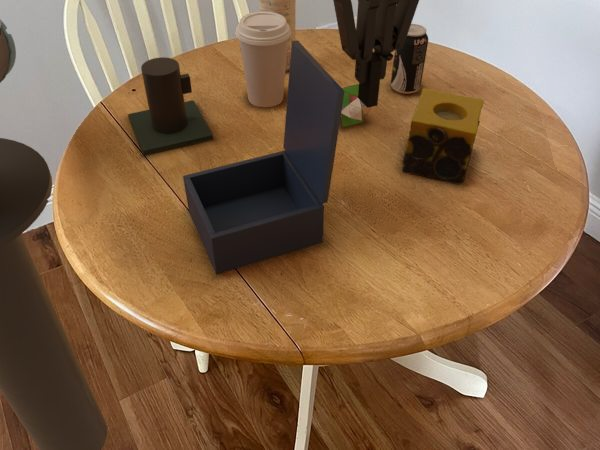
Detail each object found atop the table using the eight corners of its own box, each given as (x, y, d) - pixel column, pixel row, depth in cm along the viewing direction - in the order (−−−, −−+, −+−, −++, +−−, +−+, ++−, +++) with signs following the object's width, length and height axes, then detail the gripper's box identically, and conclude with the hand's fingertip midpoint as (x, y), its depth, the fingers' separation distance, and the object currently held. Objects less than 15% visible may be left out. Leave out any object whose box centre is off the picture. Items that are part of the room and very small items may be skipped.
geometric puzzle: (319, 100, 105) (333, 81, 98) (352, 92, 107) (368, 72, 100) (333, 137, 104) (348, 120, 97) (366, 128, 107) (384, 111, 99)
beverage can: (392, 79, 115) (400, 20, 107) (421, 83, 114) (431, 24, 106) (387, 93, 111) (395, 33, 103) (418, 98, 110) (428, 38, 102)
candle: (413, 138, 101) (421, 86, 94) (472, 150, 98) (485, 98, 91) (399, 172, 94) (408, 119, 87) (463, 186, 91) (477, 133, 84)
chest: (216, 274, 78) (211, 238, 73) (188, 211, 87) (182, 175, 82) (322, 242, 82) (324, 206, 77) (286, 185, 91) (285, 150, 86)
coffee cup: (232, 106, 107) (225, 28, 97) (251, 81, 114) (247, 6, 104) (281, 116, 105) (279, 37, 95) (298, 90, 112) (298, 13, 102)
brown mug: (157, 137, 99) (145, 78, 91) (149, 118, 103) (137, 61, 95) (199, 127, 101) (192, 69, 93) (190, 109, 105) (182, 53, 97)
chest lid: (338, 91, 66) (344, 90, 66) (291, 40, 75) (297, 40, 75) (321, 204, 77) (327, 202, 77) (283, 147, 86) (288, 146, 86)
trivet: (128, 118, 104) (127, 113, 104) (194, 104, 108) (193, 100, 107) (143, 156, 96) (142, 151, 96) (213, 139, 100) (212, 134, 99)
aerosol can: (302, 64, 119) (303, -38, 106) (279, 76, 116) (278, -27, 102) (277, 53, 123) (275, -47, 109) (254, 65, 119) (249, -37, 105)
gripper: (420, -109, 66) (395, 78, 82) (315, -97, 62) (311, 97, 78) (459, -91, 61) (424, 105, 77) (347, -77, 57) (335, 127, 73)
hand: (367, 101), depth 78 cm, fingers closed
